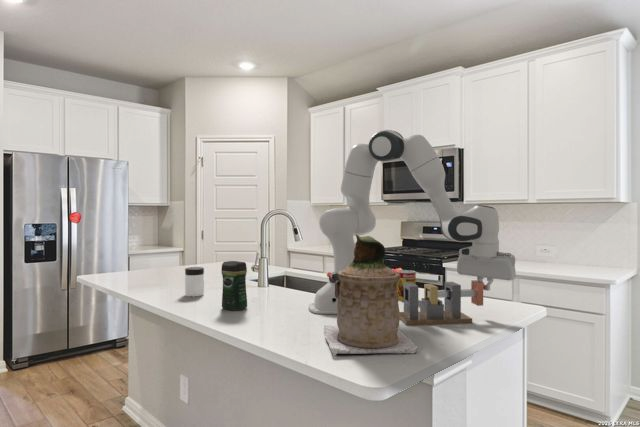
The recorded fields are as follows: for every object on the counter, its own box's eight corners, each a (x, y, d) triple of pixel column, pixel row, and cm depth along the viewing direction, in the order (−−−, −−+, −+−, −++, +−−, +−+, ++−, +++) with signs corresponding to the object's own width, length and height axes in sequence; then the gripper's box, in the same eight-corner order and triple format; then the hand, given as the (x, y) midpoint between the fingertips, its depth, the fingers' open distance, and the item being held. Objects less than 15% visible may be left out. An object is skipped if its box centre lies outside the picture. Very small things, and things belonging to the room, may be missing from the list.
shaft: (430, 307, 153) (430, 283, 153) (425, 303, 158) (425, 281, 158) (483, 305, 155) (483, 282, 155) (476, 302, 160) (476, 280, 160)
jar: (203, 296, 197) (203, 269, 197) (184, 297, 195) (184, 270, 195) (204, 292, 206) (204, 266, 206) (186, 293, 204) (185, 267, 204)
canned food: (407, 302, 183) (407, 273, 183) (392, 299, 189) (392, 271, 189) (419, 299, 188) (419, 271, 188) (404, 296, 194) (404, 269, 194)
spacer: (430, 304, 153) (430, 287, 152) (424, 300, 158) (424, 284, 158) (437, 304, 153) (437, 286, 153) (431, 300, 159) (431, 283, 159)
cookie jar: (420, 355, 120) (420, 236, 119) (329, 358, 118) (329, 237, 117) (397, 329, 145) (397, 230, 144) (321, 331, 143) (321, 231, 142)
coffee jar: (250, 307, 175) (250, 260, 174) (237, 312, 168) (236, 263, 168) (232, 305, 180) (231, 259, 180) (218, 309, 173) (217, 261, 173)
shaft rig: (406, 325, 149) (406, 288, 148) (396, 316, 161) (396, 281, 160) (472, 323, 151) (472, 286, 151) (457, 314, 163) (457, 280, 163)
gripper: (519, 252, 152) (518, 292, 153) (463, 248, 167) (463, 285, 167) (511, 254, 148) (511, 295, 148) (454, 249, 163) (454, 287, 163)
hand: (485, 290), depth 158 cm, fingers closed
